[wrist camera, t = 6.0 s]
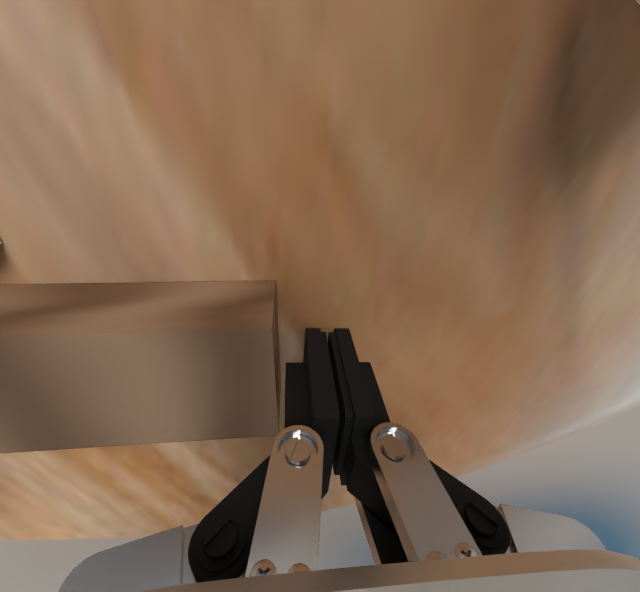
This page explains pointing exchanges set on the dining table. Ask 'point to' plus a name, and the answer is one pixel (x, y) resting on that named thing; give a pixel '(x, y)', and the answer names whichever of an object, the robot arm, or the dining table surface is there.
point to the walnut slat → (137, 363)
